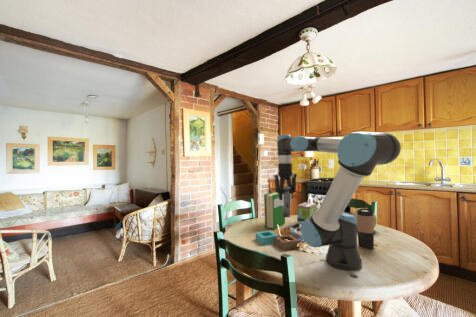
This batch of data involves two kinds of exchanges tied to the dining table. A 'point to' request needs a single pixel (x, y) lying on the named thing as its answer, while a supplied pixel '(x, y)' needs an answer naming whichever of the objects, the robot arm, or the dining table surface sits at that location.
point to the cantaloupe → (356, 217)
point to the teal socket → (266, 237)
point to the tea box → (305, 211)
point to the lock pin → (286, 202)
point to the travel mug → (365, 228)
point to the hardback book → (273, 211)
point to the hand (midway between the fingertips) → (286, 205)
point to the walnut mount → (286, 242)
